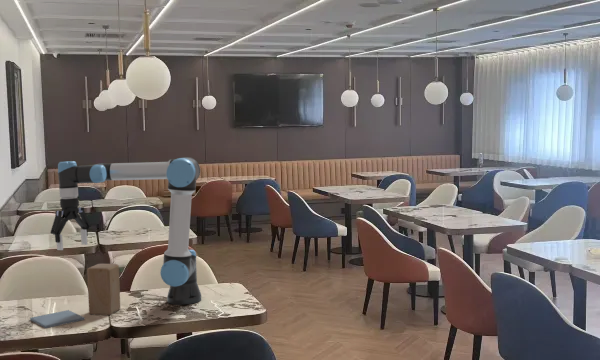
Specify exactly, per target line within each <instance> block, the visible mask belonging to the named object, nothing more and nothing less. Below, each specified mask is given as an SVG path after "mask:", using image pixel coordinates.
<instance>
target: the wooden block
mask: <svg viewBox="0 0 600 360" xmlns="http://www.w3.org/2000/svg"><path fill="white" fill-rule="evenodd" d="M119 269H120V268H119V264H117V263H97V264H95V265H93V266H90V267H87V269H86V274H87V293H88V295H87V296H88V313H89V315H91V314H95V316H110V315H113V314H115V313H116V312H118V311H120V309H121V294H120V293H121V290H120V289H121V288H120V270H119Z"/></svg>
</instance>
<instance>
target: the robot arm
mask: <svg viewBox="0 0 600 360" xmlns="http://www.w3.org/2000/svg"><path fill="white" fill-rule="evenodd" d="M200 174H201V166H200V164H199V163H198V161H197V160H195V159H194V158H193V157H191V156H190V157H188V156H186V157H178V158H176V159H175V158H174V159H169V160H168V161H159V162H158V161H156V162H155V161H153V162H151V161H150V162H149V161H146V162H119V163H118V162H115V163H113V162H112V163H104V162H103V163H101V162H100V163H97V164H89V165H77V162H76V161H74V160H73V161H72V160H70V161H59V162H58V164H57V175H58V176H57V177H58V188H59V190H58V191H59V198H60V199H59V205H60V208H61V210H56V211H55V213H54V214H55V216H54V219H53V223H52V227H51V230H50V234H51V235H54V238H55V239H54V240H55V241H54V242H55V243H56V250H57V251H64V242H63V234H61V233H62V232H63V229H64V228H65V225H66V224H67V222H68V221H72V220H74V221H75V222H76V223H77V224H78V225H79V226H80V228H81V229H80V238H81V242H80V243H81V245H84V246H85V245H88V236H89V235H88V234H89V233H88V230H89V229H90V228H91V227H92V224H91V222H90V221H89V218H88V216H87V214H86V211H85V207H84V206H82V207H81V206H80V201H79V188H78V187H79V186H78V184H100V183H104V182H105V181H133V180H134V181H135V180H136V181H138V180H140V181H141V180H144V181H145V180H167V181H168V182H167V190H168V191H169V193H170V209H169V224H168V238H167V239H168V243H167V249H166V250H165V251H164V253H163V261H162V262H163V263H162V266H161V268H160V278H161V280H162V281H163V282H164V283H165V284H166V286H167V285H168V286H169V289H168V291H167V292H168V293H167V296H166V299H167V300H166V302H167V303H168V304H171V305H182V306H183V305H190V304H197V303H199V302H201V301H202V293H201V290H200V288H199V285H198V279H197V278H198V275H197V274H198V273H197V271H198V270H197V252H196V251H195V250H194V249H189V243H190V229H191V214H192V213H191V212H192V195H193V194H194V193H195V192H196V190H197V189H196V188H197V180H198V179H199V177H200Z"/></svg>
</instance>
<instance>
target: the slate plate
mask: <svg viewBox="0 0 600 360" xmlns="http://www.w3.org/2000/svg"><path fill="white" fill-rule="evenodd" d="M84 319H86V318H85V317H84V316H82V315H80V314H78V313H76V312H74V311H72V310H69V309H67V310H61V311H57V312H53V313H48V314H47V313H45V314H42V315H37V316H33V317H30V319H29V320H30V321H31V322H33V323H35V324H37V325H38V326H40V327H43V329H47V328H54V327H58V326H62V324H63V325H66V323H67V324H72V323H77V322H80V320H81V321H85V320H84ZM71 322H72V323H71Z"/></svg>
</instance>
